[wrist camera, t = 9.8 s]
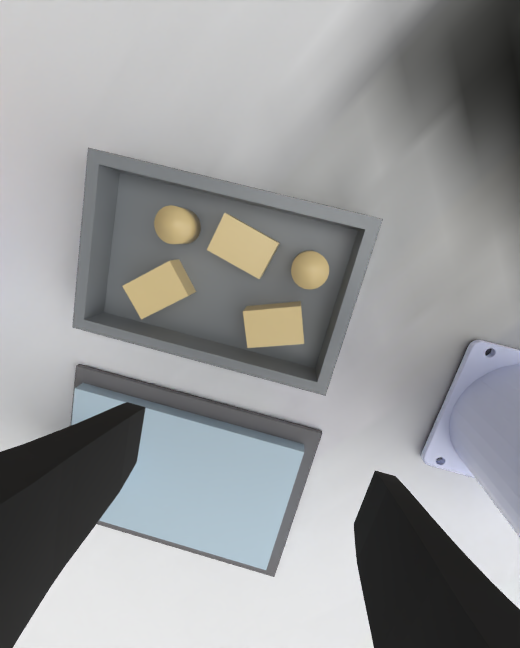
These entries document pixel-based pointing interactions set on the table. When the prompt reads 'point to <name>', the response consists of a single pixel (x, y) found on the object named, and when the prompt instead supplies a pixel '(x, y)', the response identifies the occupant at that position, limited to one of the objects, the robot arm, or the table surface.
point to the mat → (223, 414)
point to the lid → (200, 480)
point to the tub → (218, 270)
